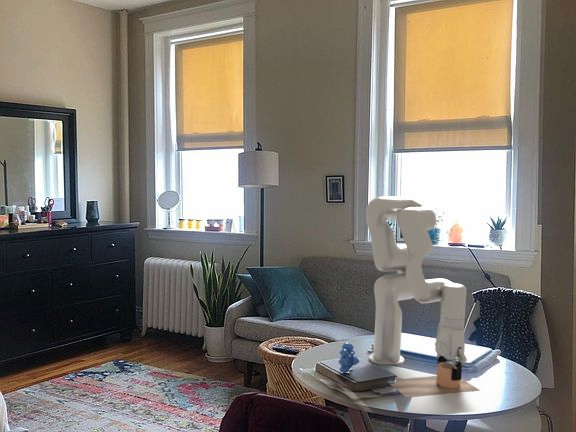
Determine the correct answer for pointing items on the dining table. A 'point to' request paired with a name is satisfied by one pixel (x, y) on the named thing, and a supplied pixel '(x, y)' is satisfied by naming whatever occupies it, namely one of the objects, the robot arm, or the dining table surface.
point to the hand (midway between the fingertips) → (448, 374)
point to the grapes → (347, 358)
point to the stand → (429, 386)
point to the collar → (445, 377)
